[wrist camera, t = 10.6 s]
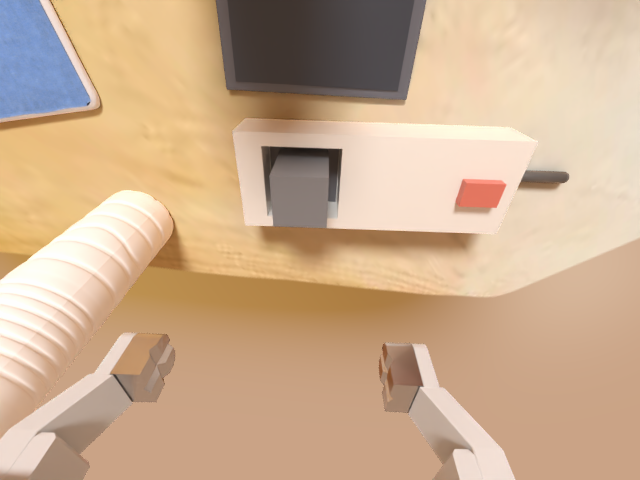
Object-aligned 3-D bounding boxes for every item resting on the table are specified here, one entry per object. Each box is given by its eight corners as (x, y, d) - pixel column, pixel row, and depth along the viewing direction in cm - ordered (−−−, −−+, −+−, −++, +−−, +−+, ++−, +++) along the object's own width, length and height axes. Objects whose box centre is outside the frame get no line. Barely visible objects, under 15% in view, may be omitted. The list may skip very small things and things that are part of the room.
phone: (425, -17, 20) (430, -20, 19) (403, 97, 24) (406, 100, 23) (216, -30, 19) (211, -33, 19) (230, 87, 24) (226, 89, 23)
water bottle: (185, 239, 32) (-76, 616, 11) (129, 246, 32) (-211, 612, 12) (145, 161, 27) (-456, 585, 6) (80, 171, 27) (-650, 582, 7)
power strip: (588, 130, 24) (638, 148, 20) (543, 213, 29) (577, 241, 25) (245, 117, 24) (229, 134, 20) (254, 203, 29) (243, 230, 25)
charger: (328, 149, 24) (328, 177, 20) (326, 193, 27) (326, 229, 22) (280, 147, 24) (269, 176, 20) (283, 192, 27) (273, 227, 22)
